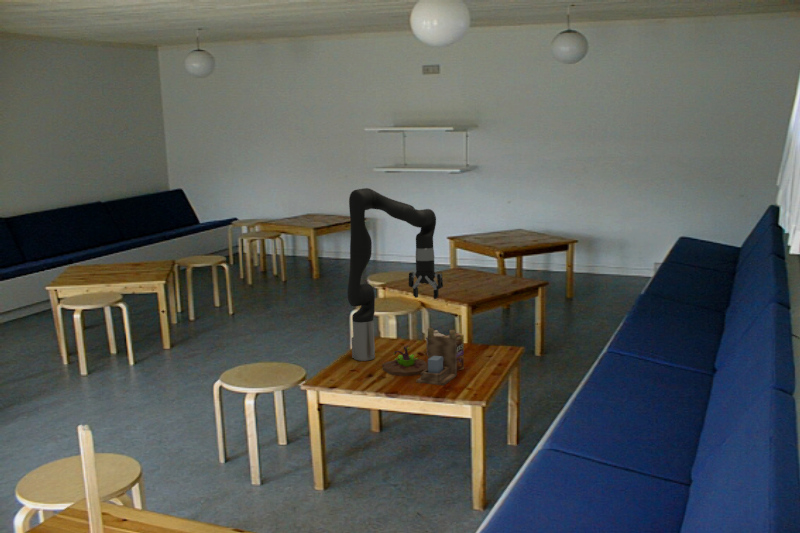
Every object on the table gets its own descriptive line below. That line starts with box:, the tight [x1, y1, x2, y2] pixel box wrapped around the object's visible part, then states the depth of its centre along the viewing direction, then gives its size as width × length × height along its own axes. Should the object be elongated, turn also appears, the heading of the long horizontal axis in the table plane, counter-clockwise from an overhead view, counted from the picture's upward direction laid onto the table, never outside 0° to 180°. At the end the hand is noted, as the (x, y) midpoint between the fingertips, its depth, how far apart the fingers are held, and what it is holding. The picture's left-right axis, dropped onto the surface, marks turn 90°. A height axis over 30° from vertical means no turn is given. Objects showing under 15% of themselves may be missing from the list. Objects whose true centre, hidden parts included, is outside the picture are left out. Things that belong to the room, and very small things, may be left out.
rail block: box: [427, 356, 444, 374], centre depth 303 cm, size 4×7×8 cm, turn 154°
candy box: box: [445, 332, 465, 372], centre depth 314 cm, size 9×4×15 cm, turn 123°
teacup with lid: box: [425, 329, 446, 356], centre depth 335 cm, size 12×9×12 cm
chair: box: [415, 327, 458, 386], centre depth 303 cm, size 12×14×19 cm
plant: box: [381, 345, 428, 377], centre depth 317 cm, size 20×20×11 cm
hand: (426, 297), depth 306 cm, fingers open, 8 cm apart
